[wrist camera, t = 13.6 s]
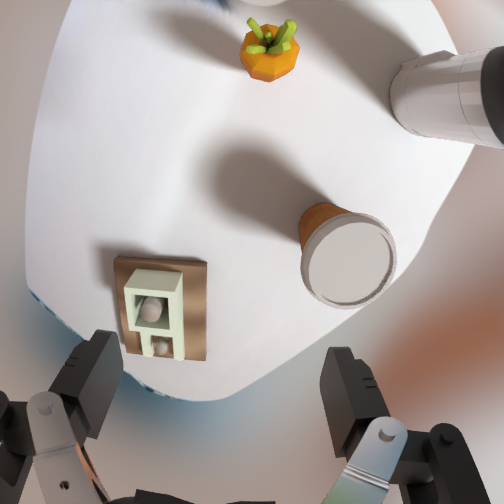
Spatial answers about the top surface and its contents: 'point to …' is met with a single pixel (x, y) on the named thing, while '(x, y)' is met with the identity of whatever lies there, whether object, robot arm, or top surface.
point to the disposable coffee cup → (345, 256)
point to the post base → (153, 306)
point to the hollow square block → (170, 316)
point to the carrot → (269, 50)
